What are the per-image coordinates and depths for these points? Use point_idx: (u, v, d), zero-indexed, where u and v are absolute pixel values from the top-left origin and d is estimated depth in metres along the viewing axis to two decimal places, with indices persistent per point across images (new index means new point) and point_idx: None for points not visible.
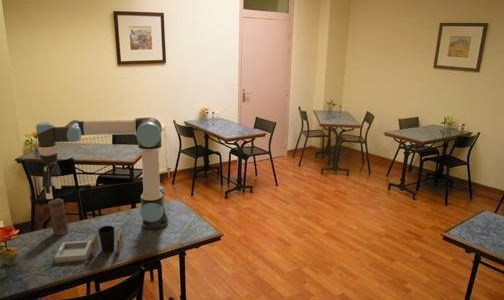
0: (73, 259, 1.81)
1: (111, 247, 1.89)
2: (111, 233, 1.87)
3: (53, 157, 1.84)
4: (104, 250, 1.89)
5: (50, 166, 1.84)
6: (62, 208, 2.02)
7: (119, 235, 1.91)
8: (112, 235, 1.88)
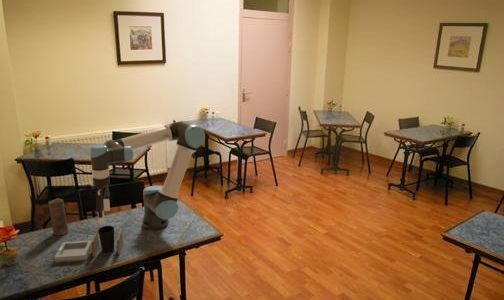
0: (73, 259, 1.81)
1: (111, 247, 1.89)
2: (111, 233, 1.87)
3: (106, 180, 1.79)
4: (104, 250, 1.89)
5: (103, 189, 1.80)
6: (62, 208, 2.02)
7: (119, 235, 1.91)
8: (112, 235, 1.88)
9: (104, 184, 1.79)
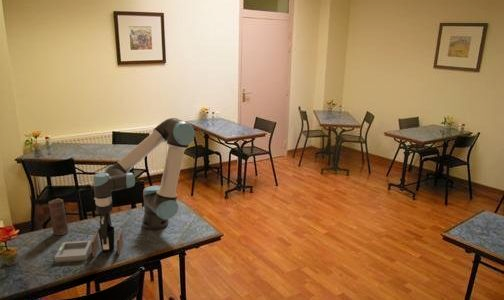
0: (73, 259, 1.81)
1: (111, 247, 1.89)
2: (111, 233, 1.87)
3: (109, 207, 1.83)
4: (104, 250, 1.89)
5: (106, 216, 1.84)
6: (62, 208, 2.02)
7: (119, 235, 1.91)
8: (112, 235, 1.88)
9: (107, 211, 1.83)
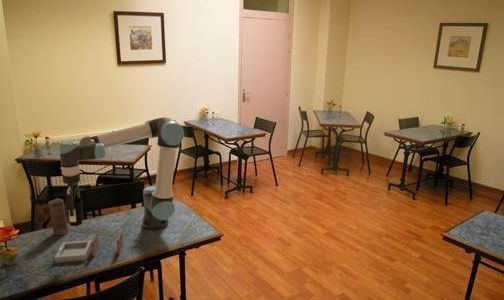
0: (73, 259, 1.81)
1: (78, 220, 1.81)
2: (78, 205, 1.79)
3: (76, 177, 1.75)
4: (71, 223, 1.80)
5: (73, 187, 1.76)
6: (62, 208, 2.02)
7: (119, 235, 1.91)
8: (80, 207, 1.80)
9: (74, 181, 1.75)
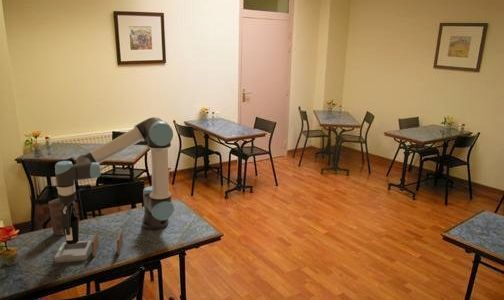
0: (73, 259, 1.81)
1: (74, 238, 1.83)
2: (75, 223, 1.81)
3: (72, 197, 1.77)
4: (68, 241, 1.83)
5: (69, 206, 1.78)
6: (62, 208, 2.02)
7: (119, 235, 1.91)
8: (76, 225, 1.82)
9: (70, 201, 1.77)
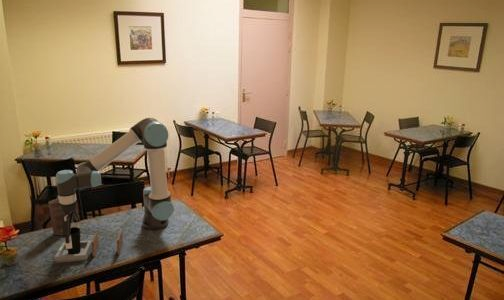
0: (73, 259, 1.81)
1: (76, 249, 1.85)
2: (76, 235, 1.83)
3: (73, 205, 1.78)
4: (70, 252, 1.85)
5: (70, 215, 1.79)
6: None
7: (119, 235, 1.91)
8: (78, 237, 1.84)
9: (71, 209, 1.78)
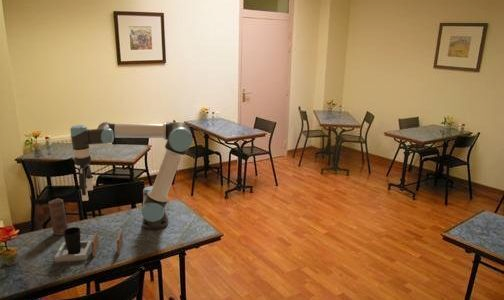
0: (73, 259, 1.81)
1: (76, 249, 1.85)
2: (76, 235, 1.83)
3: (87, 159, 1.86)
4: (70, 252, 1.85)
5: (85, 168, 1.87)
6: (62, 208, 2.02)
7: (119, 235, 1.91)
8: (78, 237, 1.84)
9: (86, 163, 1.86)
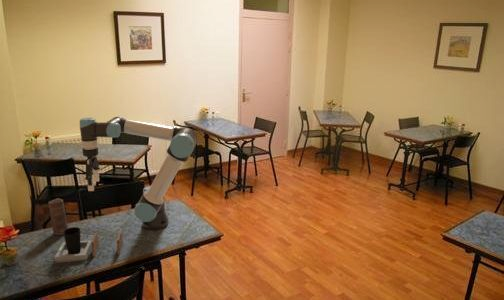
0: (73, 259, 1.81)
1: (76, 249, 1.85)
2: (76, 235, 1.83)
3: (95, 151, 1.92)
4: (70, 252, 1.85)
5: (92, 159, 1.92)
6: (62, 208, 2.02)
7: (119, 235, 1.91)
8: (78, 237, 1.84)
9: (93, 154, 1.91)
